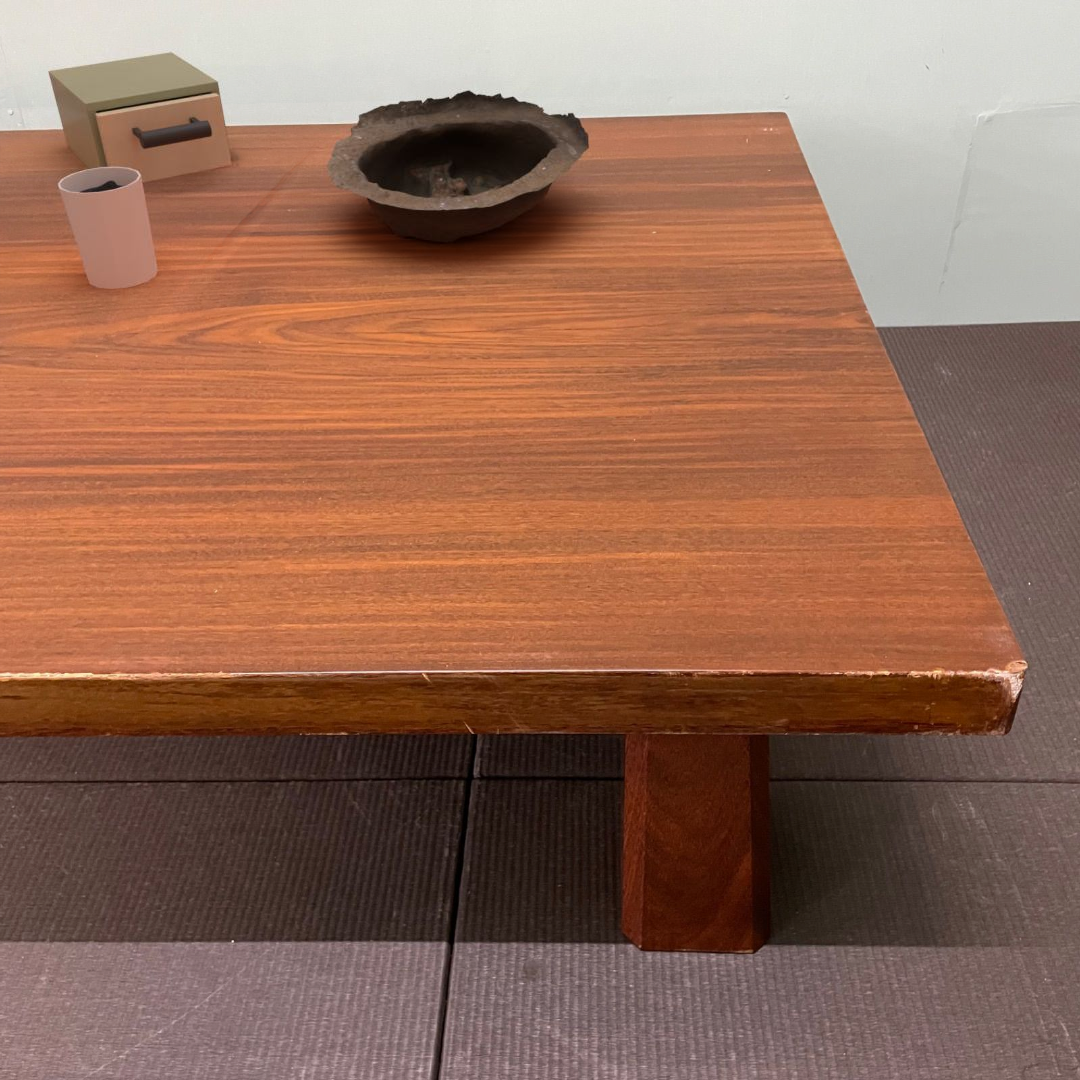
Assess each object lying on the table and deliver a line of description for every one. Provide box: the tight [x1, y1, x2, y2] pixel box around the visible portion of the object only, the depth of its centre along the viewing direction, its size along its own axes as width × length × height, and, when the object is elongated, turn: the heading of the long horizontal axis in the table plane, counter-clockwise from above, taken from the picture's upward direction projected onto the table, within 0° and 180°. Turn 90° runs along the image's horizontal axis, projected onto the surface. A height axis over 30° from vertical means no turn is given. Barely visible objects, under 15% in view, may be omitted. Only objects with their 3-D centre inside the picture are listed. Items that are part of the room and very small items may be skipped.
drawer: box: [95, 93, 233, 184], centre depth 125 cm, size 19×13×8 cm, turn 32°
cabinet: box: [47, 51, 233, 169], centre depth 128 cm, size 16×14×10 cm
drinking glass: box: [57, 167, 159, 290], centre depth 100 cm, size 7×7×10 cm
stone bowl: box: [326, 89, 590, 243], centre depth 113 cm, size 25×25×9 cm
